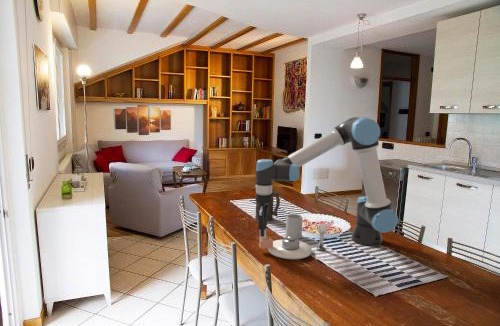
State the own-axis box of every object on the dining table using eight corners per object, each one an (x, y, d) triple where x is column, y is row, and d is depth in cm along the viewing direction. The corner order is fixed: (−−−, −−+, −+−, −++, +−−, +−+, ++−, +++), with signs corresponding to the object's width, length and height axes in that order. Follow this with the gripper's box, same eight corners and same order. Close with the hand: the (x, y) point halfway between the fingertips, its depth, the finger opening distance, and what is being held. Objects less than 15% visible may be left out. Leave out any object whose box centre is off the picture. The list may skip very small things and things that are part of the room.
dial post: (325, 248, 168) (327, 223, 166) (325, 251, 164) (327, 225, 162) (316, 247, 169) (318, 222, 167) (315, 250, 165) (317, 224, 163)
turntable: (305, 242, 173) (306, 232, 172) (316, 259, 153) (316, 248, 152) (257, 242, 171) (257, 232, 170) (261, 259, 151) (262, 248, 151)
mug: (304, 238, 181) (305, 218, 179) (289, 240, 178) (290, 219, 176) (293, 230, 192) (294, 211, 190) (279, 232, 189) (280, 212, 187)
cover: (297, 243, 166) (297, 233, 166) (300, 250, 159) (301, 239, 158) (280, 243, 166) (280, 233, 165) (283, 250, 158) (284, 240, 157)
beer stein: (251, 219, 210) (254, 187, 206) (257, 214, 219) (260, 184, 216) (275, 225, 204) (279, 192, 201) (281, 219, 214) (284, 188, 211)
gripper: (259, 189, 167) (258, 236, 170) (252, 195, 154) (251, 246, 158) (274, 190, 165) (273, 238, 168) (268, 197, 152) (267, 248, 156)
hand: (262, 242), depth 163 cm, fingers closed
